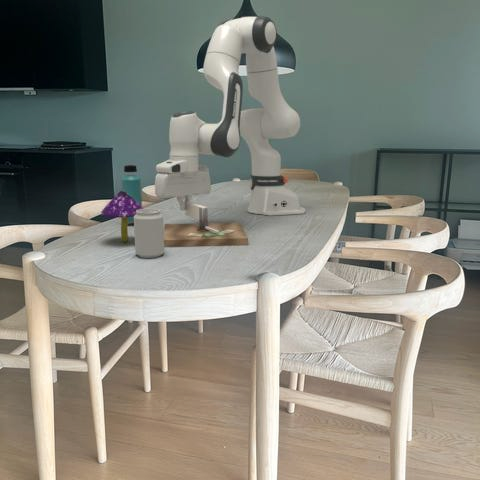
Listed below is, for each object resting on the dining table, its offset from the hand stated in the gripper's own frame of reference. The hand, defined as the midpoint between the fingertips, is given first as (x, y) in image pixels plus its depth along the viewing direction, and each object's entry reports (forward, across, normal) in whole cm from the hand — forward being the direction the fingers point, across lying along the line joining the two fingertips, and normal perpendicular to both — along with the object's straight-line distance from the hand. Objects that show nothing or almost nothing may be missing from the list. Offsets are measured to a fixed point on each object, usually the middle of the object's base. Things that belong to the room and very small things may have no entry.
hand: (184, 210), depth 151 cm
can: (+8, +24, +14) cm, 29 cm away
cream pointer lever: (+5, 0, +8) cm, 9 cm away
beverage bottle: (+7, +4, -21) cm, 23 cm away
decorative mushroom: (+8, +21, -2) cm, 22 cm away
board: (+7, 0, +9) cm, 11 cm away
